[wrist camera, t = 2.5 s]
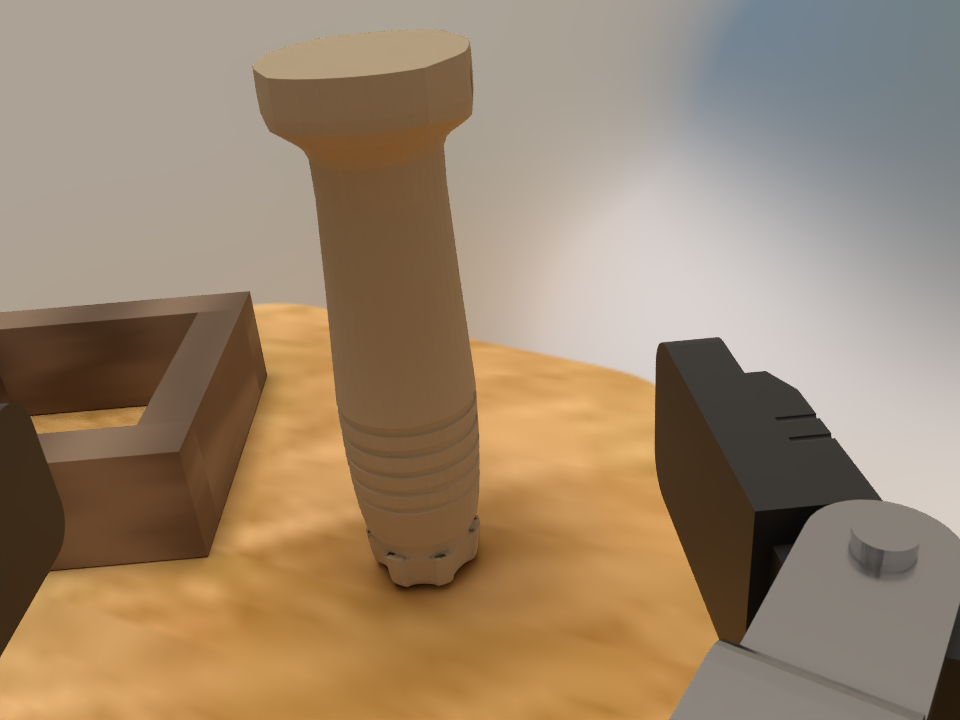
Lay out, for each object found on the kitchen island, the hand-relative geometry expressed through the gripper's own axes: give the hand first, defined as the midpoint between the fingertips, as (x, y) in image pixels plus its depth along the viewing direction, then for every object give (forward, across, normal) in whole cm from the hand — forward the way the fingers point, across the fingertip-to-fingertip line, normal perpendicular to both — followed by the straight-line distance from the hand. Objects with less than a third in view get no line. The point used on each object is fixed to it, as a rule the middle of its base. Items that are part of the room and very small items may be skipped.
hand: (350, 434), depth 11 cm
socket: (+19, +13, +12) cm, 26 cm away
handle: (+12, 0, +12) cm, 17 cm away
